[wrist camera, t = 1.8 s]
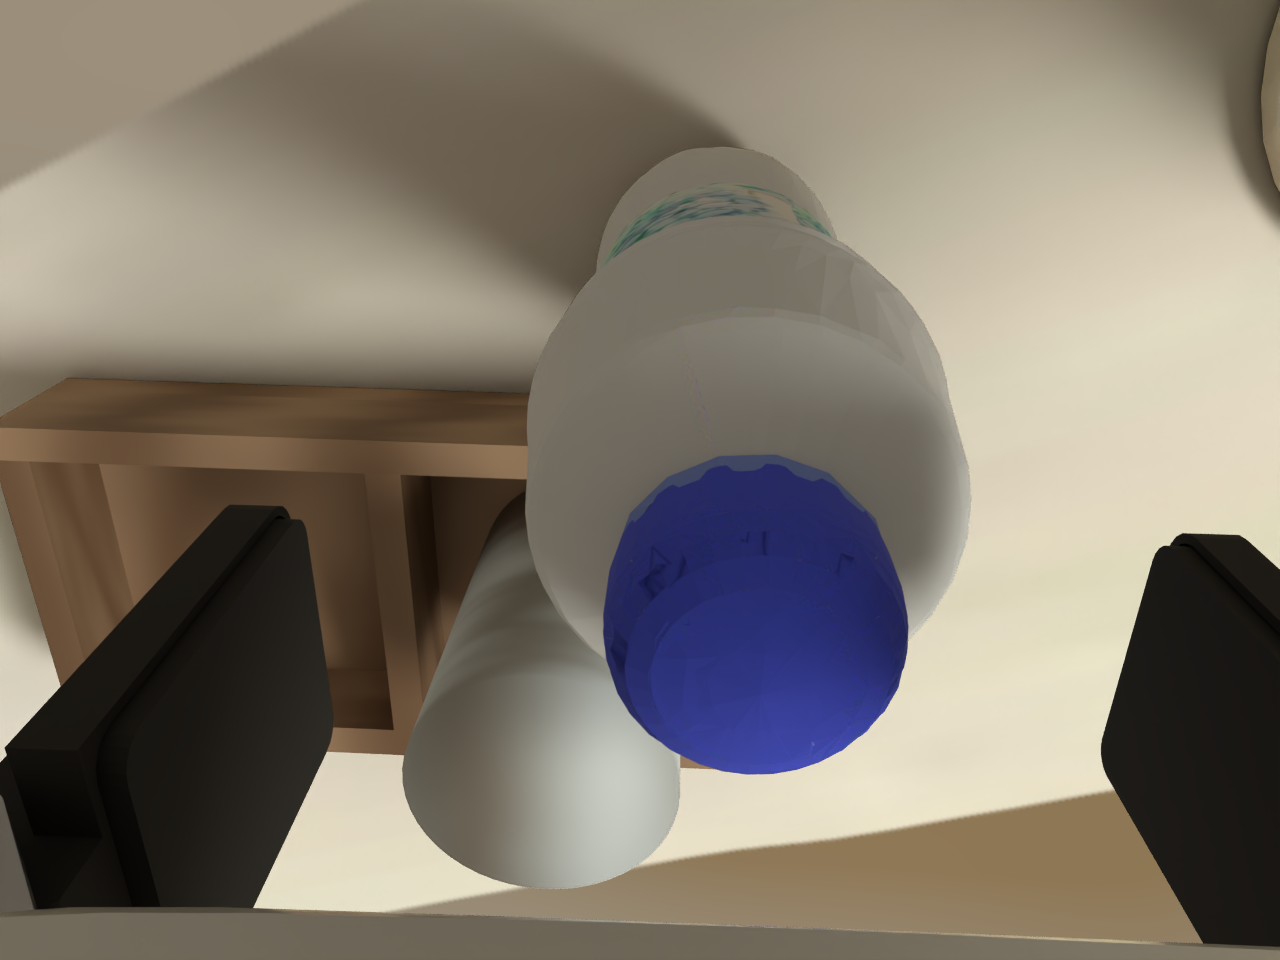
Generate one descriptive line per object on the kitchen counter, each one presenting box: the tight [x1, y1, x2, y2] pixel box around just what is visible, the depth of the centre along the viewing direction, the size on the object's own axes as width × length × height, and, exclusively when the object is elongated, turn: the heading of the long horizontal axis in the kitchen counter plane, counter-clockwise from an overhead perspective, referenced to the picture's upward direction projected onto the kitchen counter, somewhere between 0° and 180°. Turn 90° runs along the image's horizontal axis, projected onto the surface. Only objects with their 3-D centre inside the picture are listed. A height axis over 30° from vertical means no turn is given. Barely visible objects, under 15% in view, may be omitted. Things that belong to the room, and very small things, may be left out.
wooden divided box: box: [0, 378, 714, 889], centre depth 27 cm, size 22×11×11 cm, turn 89°
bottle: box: [525, 147, 971, 774], centre depth 19 cm, size 7×7×20 cm
